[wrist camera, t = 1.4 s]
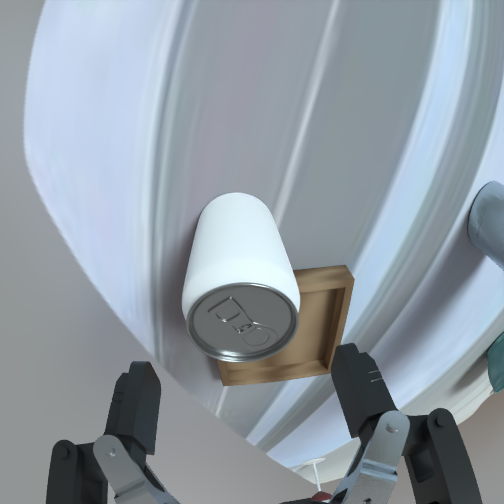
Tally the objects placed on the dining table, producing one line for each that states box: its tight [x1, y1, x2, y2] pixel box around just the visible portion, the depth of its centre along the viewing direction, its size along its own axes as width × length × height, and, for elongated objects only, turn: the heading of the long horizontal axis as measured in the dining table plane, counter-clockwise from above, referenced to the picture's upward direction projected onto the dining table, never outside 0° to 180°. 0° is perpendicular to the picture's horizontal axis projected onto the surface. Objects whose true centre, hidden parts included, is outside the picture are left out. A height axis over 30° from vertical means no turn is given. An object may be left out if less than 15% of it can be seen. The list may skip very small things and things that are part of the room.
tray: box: [216, 265, 355, 386], centre depth 29 cm, size 14×15×2 cm
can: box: [182, 193, 300, 363], centre depth 18 cm, size 6×6×12 cm
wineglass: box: [302, 458, 332, 503], centre depth 54 cm, size 8×9×20 cm
